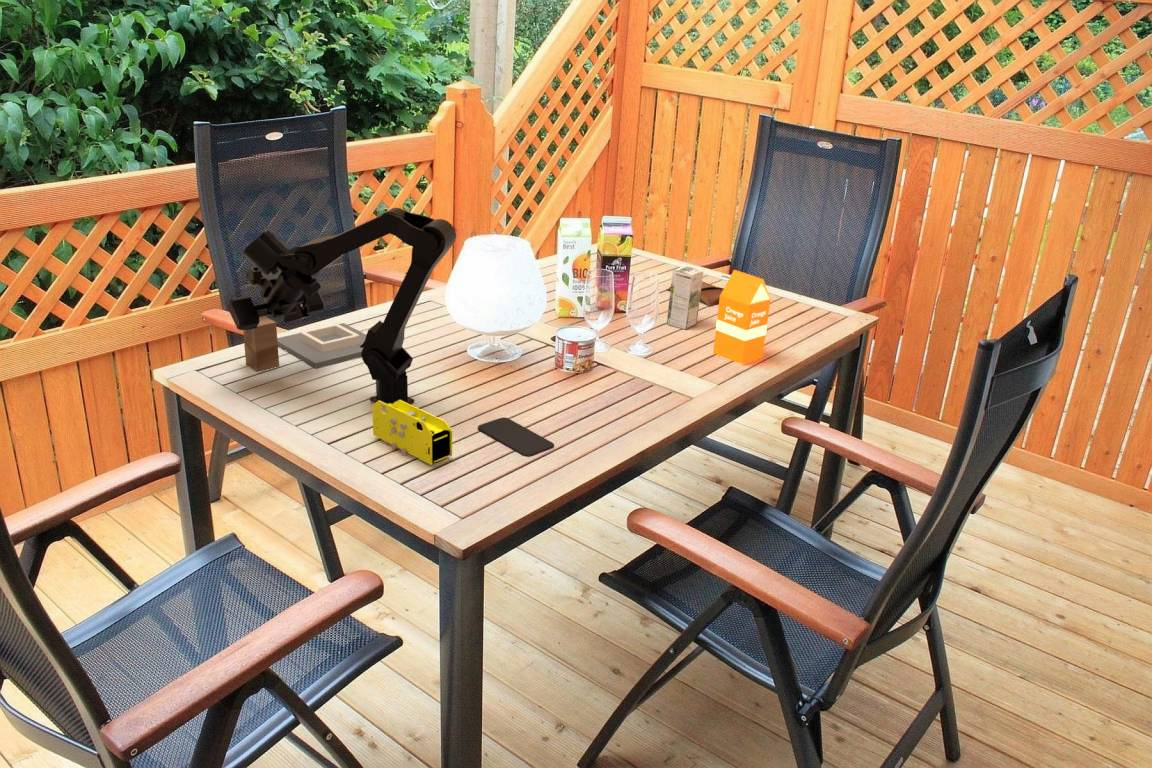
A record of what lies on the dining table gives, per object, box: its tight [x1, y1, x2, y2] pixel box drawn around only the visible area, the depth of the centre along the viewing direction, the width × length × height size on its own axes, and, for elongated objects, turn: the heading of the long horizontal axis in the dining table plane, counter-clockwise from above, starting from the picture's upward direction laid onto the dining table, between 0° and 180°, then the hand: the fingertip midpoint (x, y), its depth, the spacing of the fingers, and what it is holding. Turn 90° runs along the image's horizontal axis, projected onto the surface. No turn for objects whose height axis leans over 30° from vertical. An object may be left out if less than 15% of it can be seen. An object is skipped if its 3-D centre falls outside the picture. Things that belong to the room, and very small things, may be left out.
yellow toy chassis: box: [371, 400, 453, 466], centre depth 172 cm, size 16×6×8 cm, turn 49°
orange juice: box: [712, 269, 771, 364], centre depth 222 cm, size 8×9×20 cm
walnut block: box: [242, 316, 280, 373], centre depth 203 cm, size 5×5×10 cm
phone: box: [477, 416, 555, 458], centre depth 180 cm, size 7×1×15 cm
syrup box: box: [666, 265, 704, 330], centre depth 241 cm, size 6×6×14 cm
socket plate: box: [277, 322, 367, 369], centre depth 216 cm, size 18×18×3 cm
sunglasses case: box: [665, 281, 724, 307], centre depth 266 cm, size 18×7×7 cm, turn 42°
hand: (264, 325), depth 199 cm, fingers open, 9 cm apart
